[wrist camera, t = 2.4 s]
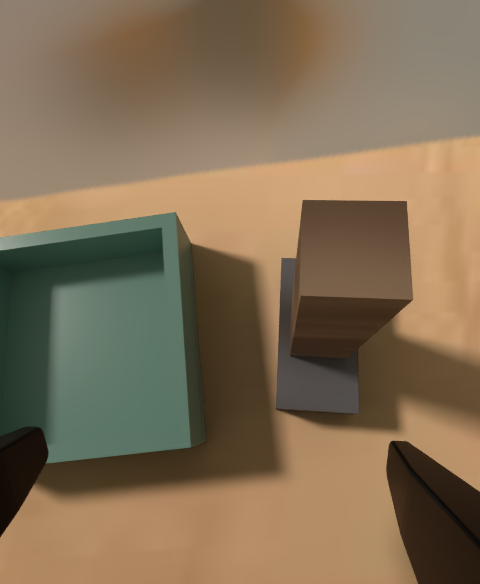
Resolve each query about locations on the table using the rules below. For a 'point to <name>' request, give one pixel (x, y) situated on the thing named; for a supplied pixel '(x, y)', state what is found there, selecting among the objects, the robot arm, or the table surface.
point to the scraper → (338, 298)
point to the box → (101, 338)
